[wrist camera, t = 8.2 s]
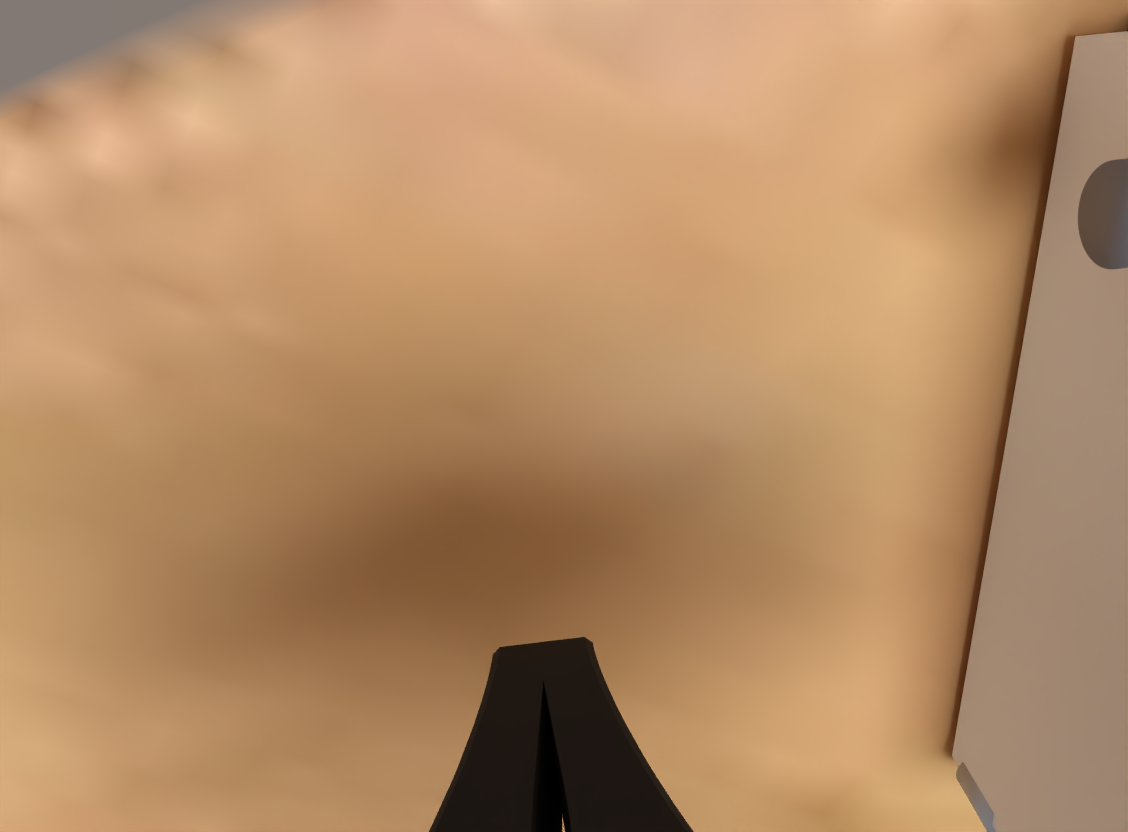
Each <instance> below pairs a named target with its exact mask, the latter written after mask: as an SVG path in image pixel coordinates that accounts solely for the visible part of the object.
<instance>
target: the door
mask: <svg viewBox="0 0 1128 832" xmlns="http://www.w3.org/2000/svg"><path fill="white" fill-rule="evenodd" d="M952 757H953V759H954V761H955V762H956V764H957V766H958V769H957V772H956V777H957V780H958V781H959V783H960V785H961V787H962V788H963V790H964V792H965V794H966V795H967V797H968V799H969V801H970V802H971V804H972V806H973V808H974V809H975V811H976V813H977V815H978V816H979V818H980V820H981V821H982V823H983V825H984V827H985V828H986V830H987V832H1128V31H1123V32H1113V33H1103V34H1093V35H1083V36H1076V37H1075V42H1074V48H1073V54H1072V60H1071V66H1070V72H1069V77H1068V83H1067V89H1066V95H1065V101H1064V106H1063V112H1062V118H1061V124H1060V130H1059V136H1058V141H1057V147H1056V153H1055V159H1054V165H1053V170H1052V176H1051V182H1050V188H1049V194H1048V200H1047V205H1046V211H1045V217H1044V223H1043V229H1042V235H1041V240H1040V246H1039V252H1038V258H1037V264H1036V269H1035V275H1034V281H1033V287H1032V293H1031V299H1030V304H1029V310H1028V316H1027V322H1026V328H1025V333H1024V339H1023V345H1022V351H1021V357H1020V363H1019V368H1018V374H1017V380H1016V386H1015V392H1014V398H1013V403H1012V409H1011V415H1010V421H1009V427H1008V432H1007V438H1006V444H1005V450H1004V456H1003V462H1002V467H1001V473H1000V479H999V485H998V491H997V496H996V502H995V508H994V514H993V520H992V526H991V531H990V537H989V543H988V549H987V555H986V561H985V566H984V572H983V578H982V584H981V590H980V595H979V601H978V607H977V613H976V619H975V625H974V630H973V636H972V642H971V648H970V654H969V659H968V665H967V671H966V677H965V683H964V689H963V694H962V700H961V706H960V712H959V718H958V724H957V729H956V735H955V741H954V747H953V753H952Z"/></svg>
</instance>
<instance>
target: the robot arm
mask: <svg viewBox="0 0 1128 832" xmlns="http://www.w3.org/2000/svg"><path fill="white" fill-rule="evenodd" d="M562 816H563V821H564V827H565V832H693V830H692V829H691V828H690V826H689V825H688V823H687V822H686V821H685V819H684V818H683V816H682V815H681V813H680V812H679V810H678V809H677V808H676V806H675V805H674V803H673V802H672V800H671V799H670V797H669V795H668V794H667V792H666V791H665V789H664V788H663V786H662V785H661V783H660V782H659V780H658V779H657V777H656V775H655V774H654V772H653V771H652V769H651V767H650V766H649V764H648V762H647V761H646V759H645V757H644V756H643V754H642V752H641V750H640V749H639V747H638V745H637V743H636V741H635V740H634V738H633V736H632V734H631V733H630V731H629V729H628V727H627V725H626V724H625V722H624V720H623V718H622V716H621V714H620V712H619V710H618V708H617V706H616V704H615V702H614V700H613V697H612V695H611V693H610V691H609V689H608V687H607V684H606V682H605V680H604V677H603V675H602V672H601V669H600V667H599V664H598V661H597V658H596V655H595V651H594V647H593V643H592V642H591V641H589V640H588V639H586V638H585V637H581V638H572V639H564V640H556V641H547V642H539V643H531V644H522V645H514V646H506V647H500V648H499V649H498V650H497V651H496V652H495V653H494V654H493V657H492V663H491V668H490V673H489V677H488V681H487V685H486V688H485V692H484V695H483V699H482V702H481V705H480V708H479V711H478V714H477V717H476V720H475V723H474V726H473V729H472V732H471V734H470V737H469V739H468V742H467V745H466V747H465V750H464V753H463V755H462V758H461V760H460V763H459V766H458V768H457V771H456V773H455V775H454V778H453V780H452V782H451V785H450V787H449V789H448V791H447V793H446V796H445V798H444V800H443V802H442V804H441V807H440V809H439V811H438V813H437V815H436V818H435V820H434V822H433V824H432V826H431V829H430V831H429V832H562Z"/></svg>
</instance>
